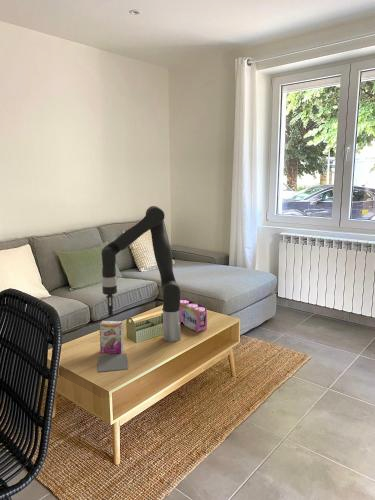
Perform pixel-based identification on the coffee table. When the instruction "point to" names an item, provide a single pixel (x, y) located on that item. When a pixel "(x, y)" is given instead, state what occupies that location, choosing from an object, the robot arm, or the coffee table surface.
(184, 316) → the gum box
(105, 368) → the mat
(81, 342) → the coffee table surface
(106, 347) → the candy bar box
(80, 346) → the coffee table surface
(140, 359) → the coffee table surface
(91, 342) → the coffee table surface
